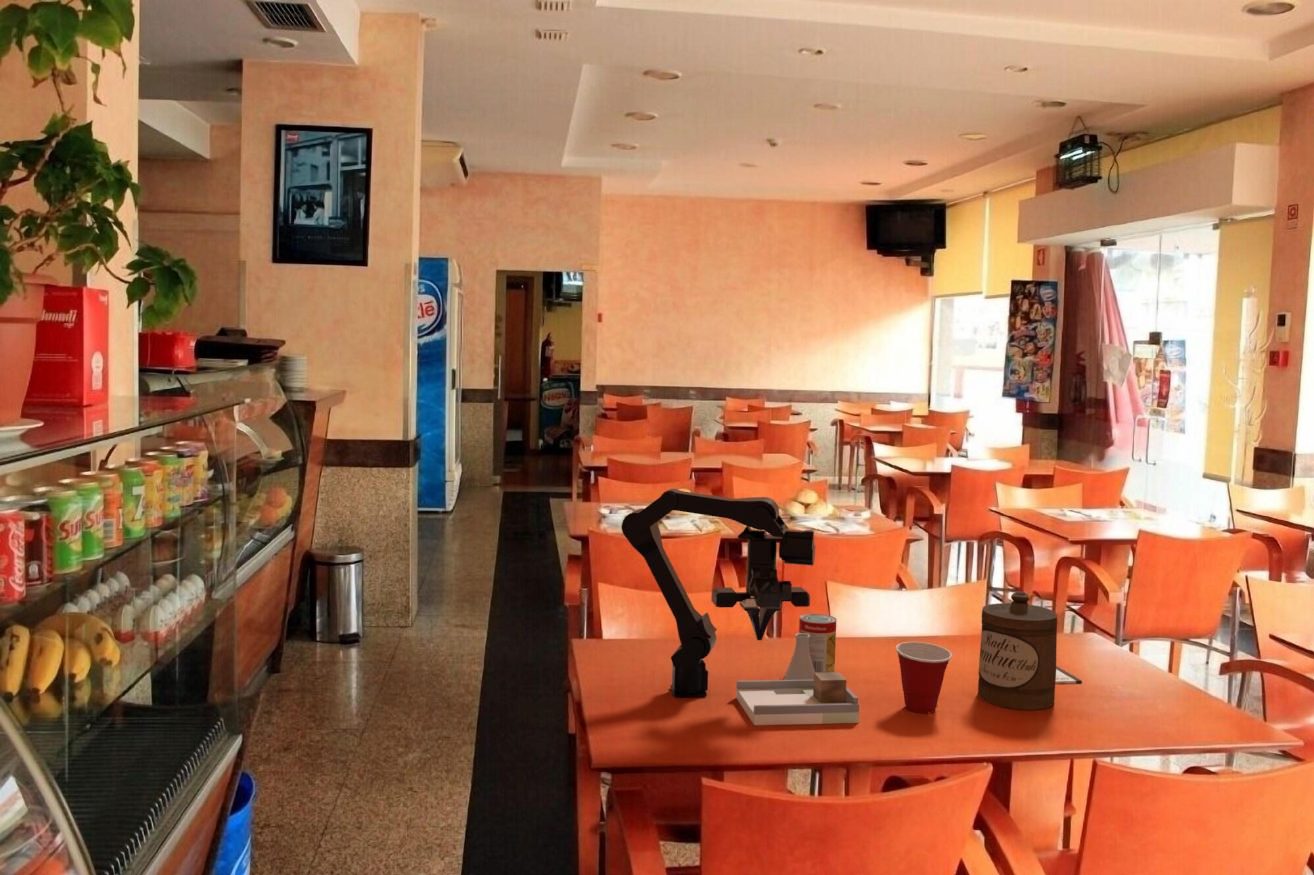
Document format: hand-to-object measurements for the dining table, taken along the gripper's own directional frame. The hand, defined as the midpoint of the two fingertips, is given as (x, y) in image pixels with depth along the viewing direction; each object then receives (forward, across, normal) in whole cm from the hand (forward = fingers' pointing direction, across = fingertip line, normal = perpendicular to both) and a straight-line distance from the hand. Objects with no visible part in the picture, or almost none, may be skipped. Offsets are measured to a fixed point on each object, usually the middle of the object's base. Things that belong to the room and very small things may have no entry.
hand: (759, 639), depth 222 cm
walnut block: (+10, +13, -7) cm, 18 cm away
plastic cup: (+12, +31, -8) cm, 34 cm away
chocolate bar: (+13, +68, +15) cm, 71 cm away
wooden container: (+12, +53, -3) cm, 54 cm away
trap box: (+12, +6, -7) cm, 15 cm away
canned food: (+12, +17, +17) cm, 27 cm away
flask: (+12, +12, +11) cm, 20 cm away
